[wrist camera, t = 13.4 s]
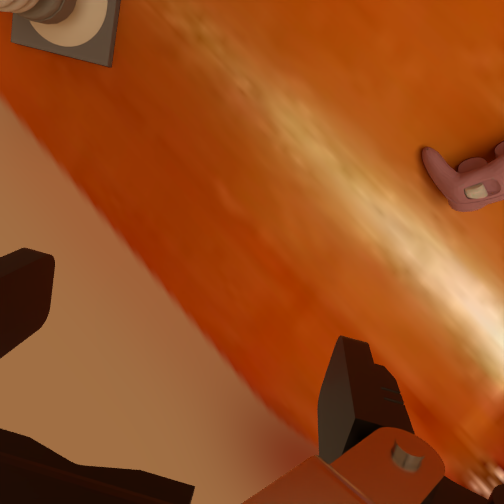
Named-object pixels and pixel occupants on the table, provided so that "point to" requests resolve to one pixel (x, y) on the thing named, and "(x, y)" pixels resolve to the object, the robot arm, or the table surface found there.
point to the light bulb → (40, 9)
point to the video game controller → (468, 179)
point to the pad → (74, 32)
